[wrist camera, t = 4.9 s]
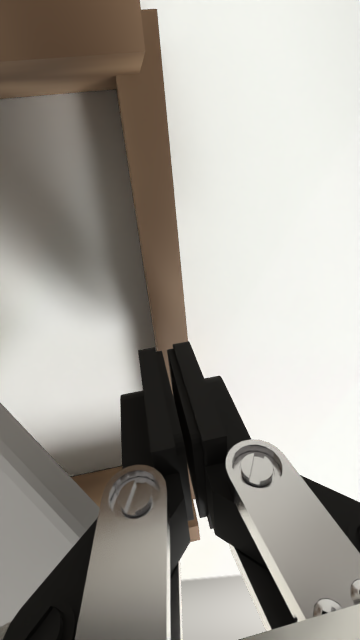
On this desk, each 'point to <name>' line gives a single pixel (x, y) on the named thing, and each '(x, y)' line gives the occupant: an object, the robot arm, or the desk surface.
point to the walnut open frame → (137, 123)
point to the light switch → (34, 515)
